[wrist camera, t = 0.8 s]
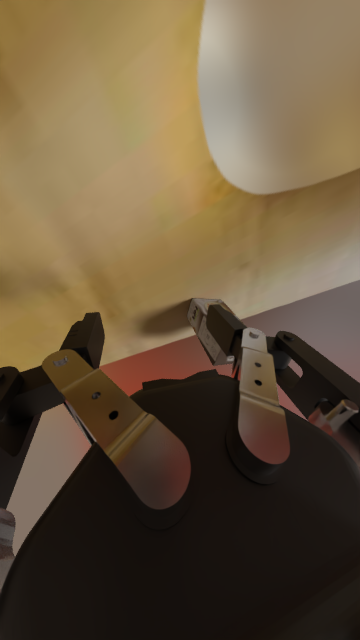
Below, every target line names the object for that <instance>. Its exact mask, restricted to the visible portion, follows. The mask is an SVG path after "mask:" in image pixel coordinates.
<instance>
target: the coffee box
mask: <svg viewBox="0 0 360 640" xmlns="http://www.w3.org/2000/svg"><path fill="white" fill-rule="evenodd" d="M213 304H220V305H221V306H222V307H223V308H224V309H225V310H227V311H229V312H231V313H232V314H233V315H234V316H235V317H236V318H238V317H237V316H236V315H235V314H234V313H233V312H232V311H231V310H230V308H229V307H228V306H227V305H226V304H225V303H224V302H223V301H222V300H214V299H196V298H193V299H192V301H191V304H190V308H189V311H188V315H187V318H188V320H189V322H190V324H191V326H192V327H193V329H194V331H195V333H196V335H197V337H198V338H199V340H200V342H201V344H202V346H203V348H204V350H205V351H206V353H207V355H208V357H209V359H210V361H211V363H212V365H213V366H215V365H224V364H232V363H233V360H234V356H229V357H227V356H226V355H225V353H224V352H223V351H222V349H221V348H220V346H219V345H218V344H217V342H216V341H215V339H214V338H213V336H212V335H211V334H210V332H209V331H208V329H207V327H206V318H207V312H208V307H209V305H213ZM238 320H240V319H239V318H238ZM240 321H241V320H240ZM242 323H243V322H242Z"/></svg>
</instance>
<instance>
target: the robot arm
mask: <svg viewBox="0 0 360 640" xmlns="http://www.w3.org/2000/svg"><path fill="white" fill-rule="evenodd" d="M206 327H207V329H208V331H209V332H210V334H211V335H212V336H213V338H214V339H215V341H216V342H217V344H218V345H219V346H220V348H221V349H222V351H223V352H224V353H225V355H226V356H227V357H229V356H234V360H233V365H232V372H231V377H229V376H225V375H219V374H218V372H217V371H216V369H214V370H209V371H202V372H199V373H196V374H194V375H192V376H190V377H187V378H185V379H182V380H177V379H159V380H153V381H148V382H143V383H142V385H143V389H141V390H139V391H137V392H136V393H134V394H132V395H131V396H130V397H129V396H128V395H127V394H125V392H123V391H122V390H121V389H120V388H119V387H118V386H117V385H116V384H115V383H114V382H113V381H112V380H111V379H110V378H108V376H107V375H106V374H104V373H103V372H102V371H101V370H100V369H99V365H100V360H101V355H102V350H103V345H104V339H105V335H104V329H103V325H102V320H101V316H100V313H99V312H94V313H86V314H85V317H84V319H83V321H77V322H76V323H75V324H74V325H72V327H71V329H70V331H69V332H68V334H67V337H66V338H65V340H64V342H63V344H62V346H61V348H60V350H59V351H57V352H54V353H52V354H51V355H49V356H48V357H46V358H45V359H44V361H43V362H42V365H41V366H39V367H36V368H33V369H29V370H26V371H23V372H19V371H18V369H17V368H15V367H11V366H8V367H2V368H0V640H360V383H359V382H357V381H356V380H355V379H353V378H352V377H351V376H349V375H348V374H347V373H345V372H344V371H343V370H341V369H340V368H339V367H337V366H336V365H335V364H333V363H332V362H331V361H329V360H328V359H327V358H326V357H324V356H323V355H321V354H320V353H319V352H318V351H316V350H315V349H314V348H312V347H311V346H309V345H308V344H307V343H306V342H304V341H303V340H302V339H300V338H299V337H298V336H296V335H295V334H292V333H290V332H286V331H279V332H278V333H277V334H276V337H267V336H265V334H264V333H263V332H261V331H260V330H257V329H254V328H247V327H246V326H245V325H244V324H243V323H242V322H241V321H240V320H238V318H236V317H235V316H234V315H233V314H232V313H231V312H229V311H227V310H225V309H224V308H223V307H222V306H221V305H220V304H213V305H209V307H208V312H207V318H206ZM291 359H293V360H294V361H295V362H296V363H297V364H298V365H299V366H300V367H301V368H302V371H303V375H302V377H301V378H300V377H299V376H298V375H297V374H296V373H295V372H294V371H293V370H292V369H291V368H290V367H289V366H288V364H289V362H290V361H291ZM276 382H277V384H278V385H279V386H280V387H281V389H282V390H283V391H284V392H285V393H286V394H287V396H288V397H289V398H290V399H291V401H292V402H293V403H294V404H295V405H296V407H297V408H298V409H299V410H300V411H301V413H302V414H303V415H304V416H305V417H306V419H307V420H308V421H309V422H308V421H307V420H305V419H303V418H301V417H300V416H298V415H296V414H295V413H293V412H291V411H289V410H288V409H286V408H284V407H283V406H281V405H280V404H279V399H278V391H277V385H276ZM62 403H63V404H64V406H65V407H66V409H67V410H68V412H69V413H70V415H71V416H72V418H73V419H74V420H75V422H76V423H77V425H78V426H79V428H80V429H81V431H82V432H83V434H84V436H85V437H86V439H87V440H88V442H89V443H90V445H91V448H90V449H89V450H88V452H87V453H86V454H85V456H84V457H83V459H82V460H81V461H80V463H79V464H78V466H77V467H76V468H75V470H74V471H73V473H72V474H71V475H70V477H69V478H68V479H67V481H66V482H65V484H64V485H63V486H62V488H61V490H60V491H59V492H58V493H57V495H56V496H55V498H54V499H53V500H52V502H51V503H50V504H49V506H48V507H47V509H46V510H45V511H44V513H43V514H42V516H41V517H40V518H39V520H38V521H37V523H36V524H35V525H34V527H33V528H32V530H31V531H30V532H29V534H28V536H27V537H26V539H25V540H24V542H23V544H22V545H21V548H20V549H19V551H18V553H17V555H16V557H15V556H14V554H13V548H12V544H13V537H14V532H15V525H16V522H15V517H14V515H13V514H12V513H11V512H9V511H7V510H6V508H7V505H8V503H9V500H10V497H11V495H12V492H13V489H14V487H15V484H16V481H17V479H18V476H19V473H20V471H21V468H22V465H23V463H24V460H25V457H26V455H27V452H28V449H29V447H30V444H31V441H32V439H33V436H34V433H35V431H36V428H37V425H38V423H39V420H40V417H41V415H42V412H44V411H46V410H49V409H51V408H53V407H55V406H58V405H60V404H62Z"/></svg>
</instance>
